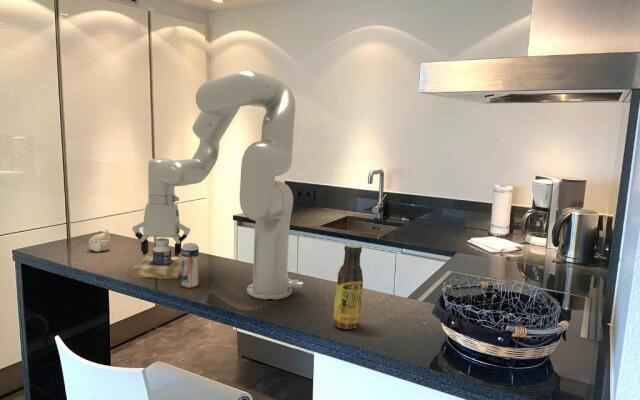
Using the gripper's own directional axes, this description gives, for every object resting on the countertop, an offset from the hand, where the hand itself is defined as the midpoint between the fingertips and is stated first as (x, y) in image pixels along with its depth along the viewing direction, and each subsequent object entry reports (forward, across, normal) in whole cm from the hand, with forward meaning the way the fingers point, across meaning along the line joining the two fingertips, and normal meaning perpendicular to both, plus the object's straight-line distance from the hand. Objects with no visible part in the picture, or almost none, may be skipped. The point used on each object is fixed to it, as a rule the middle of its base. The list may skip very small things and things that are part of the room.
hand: (161, 254), depth 145 cm
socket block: (+6, 0, 0) cm, 6 cm away
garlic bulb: (+6, +28, -20) cm, 35 cm away
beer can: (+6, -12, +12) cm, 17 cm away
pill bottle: (+5, 0, 0) cm, 5 cm away
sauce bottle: (+6, -54, +36) cm, 65 cm away
